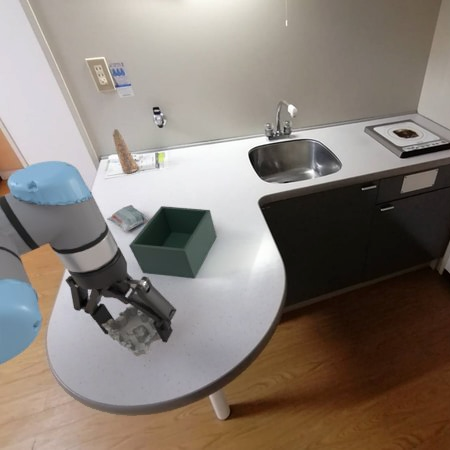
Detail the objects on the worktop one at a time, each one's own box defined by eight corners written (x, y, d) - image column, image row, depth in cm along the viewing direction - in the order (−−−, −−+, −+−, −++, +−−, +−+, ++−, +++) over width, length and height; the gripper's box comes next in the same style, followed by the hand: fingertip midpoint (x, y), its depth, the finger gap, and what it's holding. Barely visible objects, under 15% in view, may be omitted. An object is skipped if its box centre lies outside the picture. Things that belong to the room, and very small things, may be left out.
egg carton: (106, 335, 62) (97, 323, 59) (139, 308, 67) (132, 297, 64) (138, 363, 57) (131, 352, 55) (171, 332, 62) (165, 321, 60)
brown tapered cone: (141, 168, 135) (128, 168, 135) (128, 127, 125) (113, 127, 126) (134, 174, 129) (120, 174, 130) (119, 130, 120) (104, 131, 120)
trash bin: (142, 272, 87) (128, 245, 80) (171, 232, 100) (161, 206, 94) (194, 278, 85) (185, 251, 78) (216, 236, 99) (209, 209, 92)
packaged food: (126, 237, 99) (120, 225, 96) (108, 223, 104) (102, 211, 101) (151, 224, 104) (146, 212, 101) (133, 211, 110) (128, 200, 107)
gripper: (175, 247, 50) (202, 323, 64) (43, 234, 52) (96, 309, 66) (152, 283, 44) (187, 358, 58) (5, 266, 47) (72, 341, 60)
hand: (139, 332), depth 62 cm, fingers closed on egg carton, 12 cm apart
